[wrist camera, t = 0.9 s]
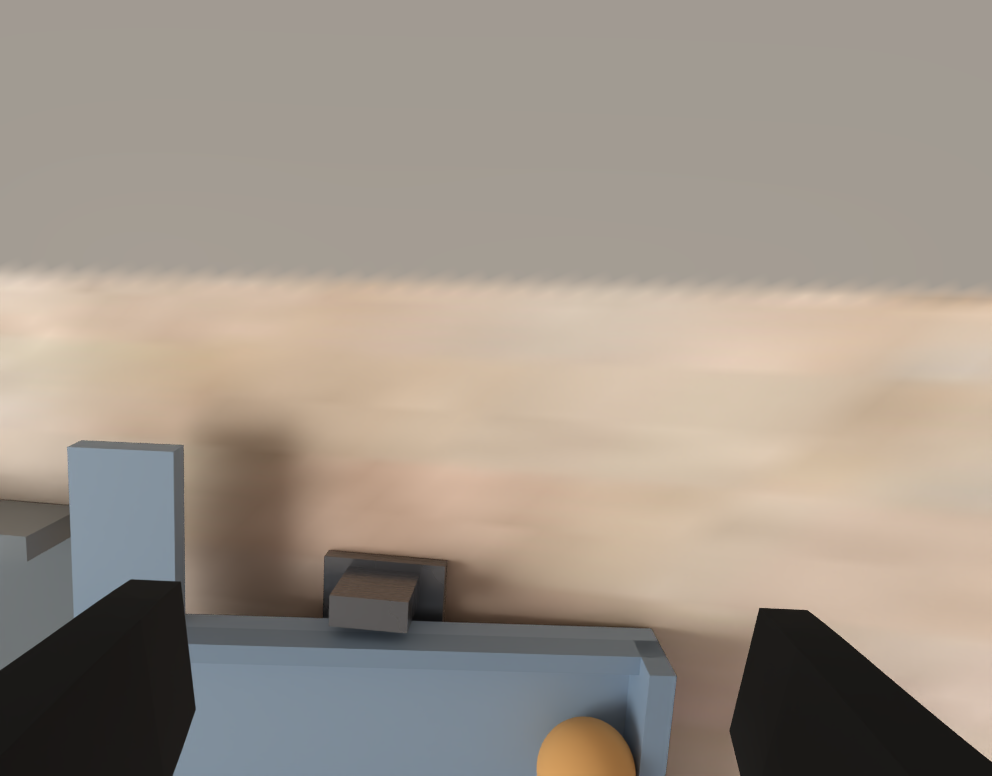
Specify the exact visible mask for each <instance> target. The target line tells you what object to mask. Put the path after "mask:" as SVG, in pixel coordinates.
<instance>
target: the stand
mask: <svg viewBox="0 0 992 776" xmlns="http://www.w3.org/2000/svg"><path fill="white" fill-rule="evenodd" d="M446 573H447V560H435V559H424V558H412V557H401V556H389V555H378V554H366V553H355V552H343V551H332V550H329V551H328V552H327V554H326V555H325V556H324V598H323V618H329V626H332V627H342V628H353V629H364V630H375V631H386V632H396V633H407V632H408V630H409V627H410V624H411V622H412V621H429V622H444V610H445V592H446Z"/></svg>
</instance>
